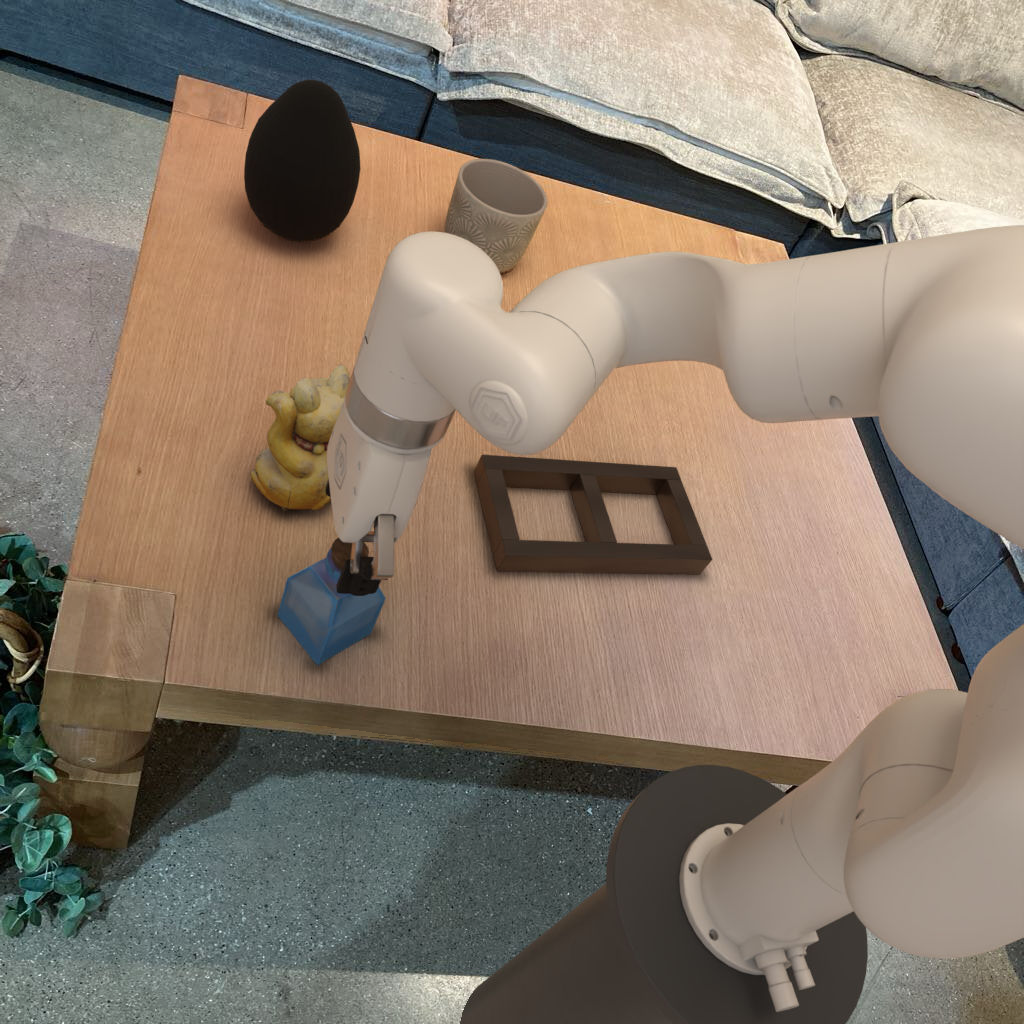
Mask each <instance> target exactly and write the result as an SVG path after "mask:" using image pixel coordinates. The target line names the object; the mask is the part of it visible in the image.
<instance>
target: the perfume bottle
mask: <svg viewBox="0 0 1024 1024" xmlns="http://www.w3.org/2000/svg"><path fill="white" fill-rule="evenodd" d="M351 550H352V543H348V542H342V541H341V540H340V539H339V537H338V536H337V538H335V539H334V541H333V542H332V544H331V547H330V548H329V550H328V551H327V554H326V557H325V558H322V559H321V560H318V561H316V562H314V563H312V564H311V565H309V566H307V567H305V568H303V569H301V570H300V571H298V572H295V573H294V574H292V575H290V576H288V577H287V578H286V582H285V585H284V588H283V593H282V596H281V600H280V604H279V607H278V611H277V614H276V615H277V617H278V618H279V620H280V621H281V622H282V624H283V625H284V626H285V627H286V628H287V629H288V631H289V632H290V633H291V635H292V636H293V637H294V638H295V640H296V641H297V642H298V644H299V645H300V646H301V648H303V650H304V651H305V652H306V653H307V655H308V656H309V657H310V658H311V660H312V661H313V663H315V665H316V666H320V665H321V664H323V663H324V662H326V661H328V660H329V659H331V658H333V657H335V656H336V655H338V654H340V653H341V652H343V651H345V650H347V649H348V648H350V647H352V646H353V645H355V644H357V643H359V642H360V641H361V640H363V639H365V638H366V637H369V636H370V635H371V634H372V632H373V630H374V628H375V625H376V623H377V620H378V619H379V616H380V613H381V612H382V609H383V606H384V605H385V602H386V596H385V595H384V592H383V591H382V589H381V587H380V586H379V587H378V589H377V591H376V592H375V593H374V594H368V595H365V596H353V595H351V594H339V593H337V589H336V585H337V582H338V580H339V577H340V574H341V572H342V569H343V566H344V564H345V561H346V560H348V559H351ZM369 555H370V550H369V547H368V545H367V543H366V542H363V546H362V555H361V556H363V557H370V556H369Z"/></svg>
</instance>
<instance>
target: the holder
mask: <svg viewBox="0 0 1024 1024" xmlns="http://www.w3.org/2000/svg"><path fill="white" fill-rule="evenodd" d="M473 475H474V479H475V483H476V486H477V491H478V495H479V500H480V504H481V509H482V513H483V517H484V521H485V525H486V530H487V534H488V538H489V539H488V540H489V542H490V548H491V552H492V555H493V559H494V564H495V568H496V569H495V570H496V571H497V572H515V573H516V572H523V573H525V572H527V573H531V572H532V573H589V574H593V573H594V574H597V573H598V574H650V575H651V574H657V575H659V574H660V575H661V574H662V575H701V574H702V573H703V572H704V570H705V569H706V568H707V567H708V566H709V565H710V563H711V562H712V561H713V556H712V554H711V551H710V549H709V547H708V545H707V542H706V539H705V537H704V534H703V532H702V529H701V526H700V524H699V522H698V519H697V517H696V513H695V511H694V508H693V506H692V504H691V502H690V499H689V496H688V493H687V491H686V488H685V486H684V483H683V481H682V478H681V475H680V472H679V470H678V468H677V467H676V466H667V465H666V466H665V465H649V464H648V465H647V464H635V463H633V464H632V463H618V462H603V461H589V460H573V459H557V458H542V457H529V456H527V457H526V456H514V455H513V456H511V455H496V454H481V455H480V457H479V459H478V461H477V464H476V466H475V468H474V470H473ZM508 488H521V489H538V490H539V489H540V490H541V489H542V490H559V491H570V494H571V497H572V501H573V504H574V507H575V510H576V514H577V517H578V520H579V523H580V526H581V530H582V534H583V537H584V539H585V541H573V540H572V541H571V540H570V541H567V540H566V541H565V540H535V539H533V540H532V539H520V535H519V531H518V528H517V523H516V520H515V515H514V511H513V508H512V504H511V500H510V496H509V492H508ZM602 493H617V494H637V495H654V496H655V495H656V497H657V501H658V503H659V506H660V509H661V512H662V514H663V517H664V520H665V522H666V525H667V528H668V530H669V533H670V536H671V538H672V541H673V543H672V544H671V543H667V544H666V543H639V542H637V543H635V542H618V541H617V537H616V534H615V531H614V528H613V525H612V522H611V519H610V516H609V514H608V510H607V508H606V503H605V500H604V498H603V495H602Z"/></svg>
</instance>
